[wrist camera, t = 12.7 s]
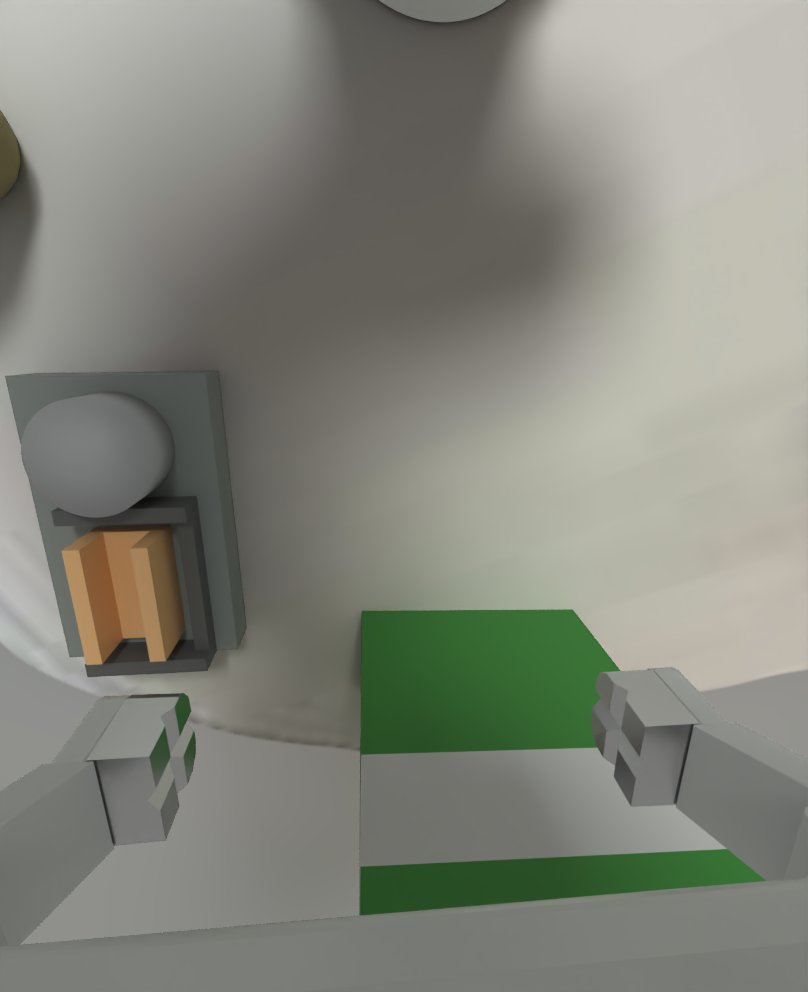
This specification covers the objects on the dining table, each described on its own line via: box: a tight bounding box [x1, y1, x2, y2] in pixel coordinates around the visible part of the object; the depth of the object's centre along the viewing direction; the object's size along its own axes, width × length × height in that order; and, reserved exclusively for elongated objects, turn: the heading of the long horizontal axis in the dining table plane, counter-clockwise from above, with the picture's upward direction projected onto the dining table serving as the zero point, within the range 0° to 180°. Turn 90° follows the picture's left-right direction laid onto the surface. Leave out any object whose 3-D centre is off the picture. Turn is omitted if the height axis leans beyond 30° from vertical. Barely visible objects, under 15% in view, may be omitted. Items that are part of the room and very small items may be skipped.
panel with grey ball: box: [5, 371, 246, 677], centre depth 34 cm, size 20×12×7 cm, turn 0°
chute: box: [61, 525, 186, 665], centre depth 34 cm, size 8×5×4 cm, turn 0°
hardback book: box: [359, 610, 766, 916], centre depth 32 cm, size 18×7×24 cm, turn 88°
